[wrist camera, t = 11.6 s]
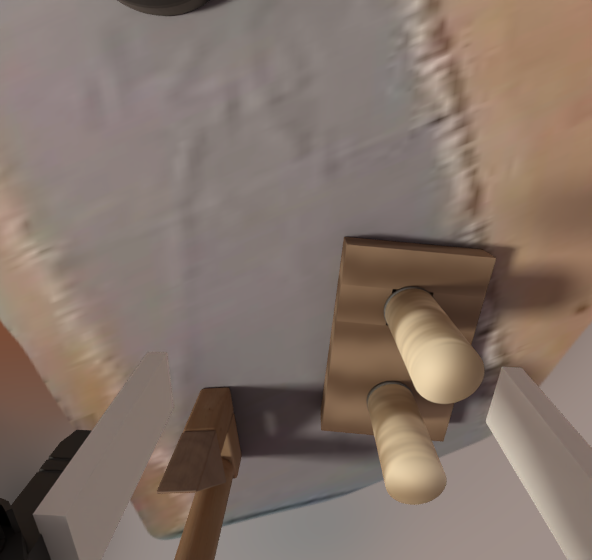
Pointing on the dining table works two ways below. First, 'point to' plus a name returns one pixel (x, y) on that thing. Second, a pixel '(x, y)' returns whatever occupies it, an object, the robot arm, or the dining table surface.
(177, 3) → the robot arm
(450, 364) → the beech peg
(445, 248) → the walnut board
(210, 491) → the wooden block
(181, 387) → the dining table surface
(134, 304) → the dining table surface
